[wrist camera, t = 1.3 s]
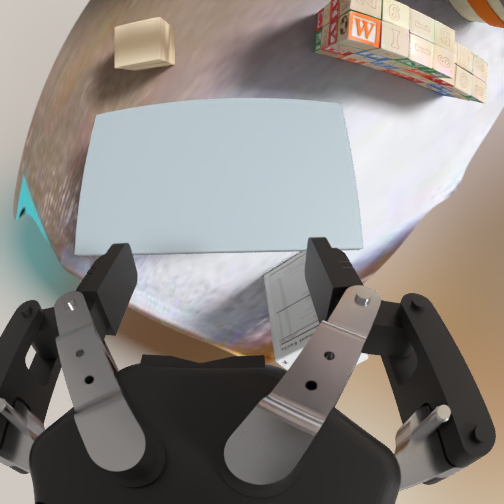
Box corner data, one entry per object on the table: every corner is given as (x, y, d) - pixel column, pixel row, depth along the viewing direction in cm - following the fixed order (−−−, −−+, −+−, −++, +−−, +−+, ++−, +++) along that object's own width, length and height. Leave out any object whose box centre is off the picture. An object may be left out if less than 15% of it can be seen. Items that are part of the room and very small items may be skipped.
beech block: (136, 36, 24) (114, 27, 18) (174, 29, 24) (160, 16, 19) (136, 70, 27) (114, 68, 21) (174, 64, 27) (159, 59, 21)
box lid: (100, 120, 23) (96, 115, 22) (338, 109, 24) (341, 103, 23) (80, 256, 21) (74, 254, 20) (358, 249, 22) (363, 248, 21)
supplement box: (291, 307, 49) (308, 389, 35) (261, 275, 45) (271, 363, 30) (338, 280, 46) (371, 359, 32) (312, 243, 42) (346, 326, 28)
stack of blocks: (447, 61, 26) (504, 65, 15) (443, 96, 29) (501, 110, 19) (316, 12, 24) (351, -18, 13) (312, 53, 27) (347, 38, 17)
